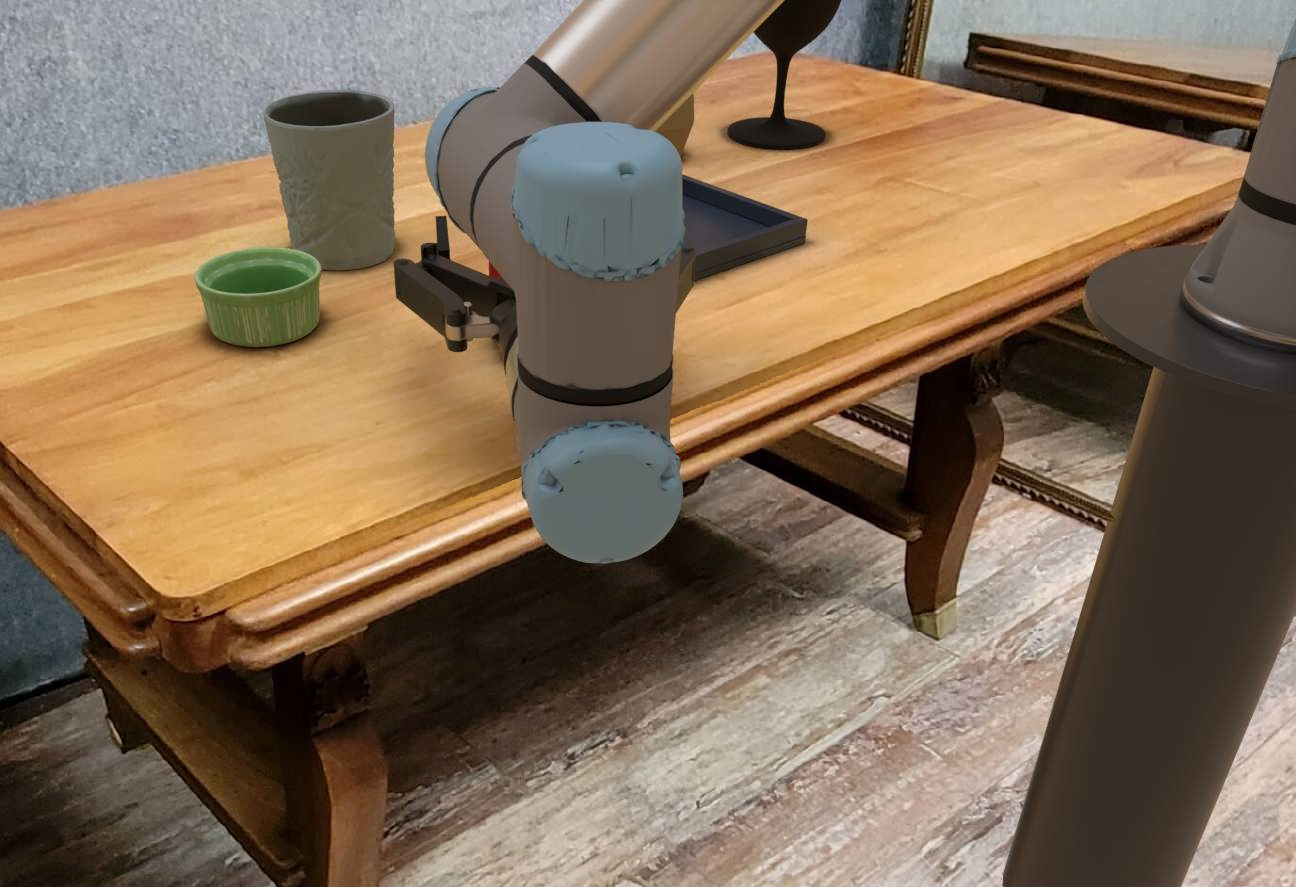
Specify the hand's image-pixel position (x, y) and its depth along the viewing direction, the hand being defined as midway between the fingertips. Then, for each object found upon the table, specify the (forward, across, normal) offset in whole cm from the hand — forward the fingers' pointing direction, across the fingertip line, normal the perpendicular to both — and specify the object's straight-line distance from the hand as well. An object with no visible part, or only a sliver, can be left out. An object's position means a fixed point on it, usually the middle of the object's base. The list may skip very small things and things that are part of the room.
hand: (534, 230), depth 89 cm
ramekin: (+2, -20, -7) cm, 21 cm away
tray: (+17, +13, -7) cm, 23 cm away
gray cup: (+16, -15, -7) cm, 23 cm away
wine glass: (+45, +30, -7) cm, 54 cm away
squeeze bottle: (+39, +16, -7) cm, 43 cm away
